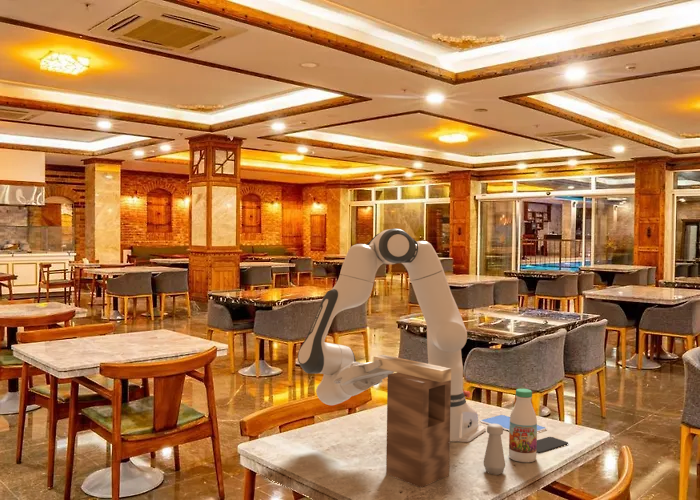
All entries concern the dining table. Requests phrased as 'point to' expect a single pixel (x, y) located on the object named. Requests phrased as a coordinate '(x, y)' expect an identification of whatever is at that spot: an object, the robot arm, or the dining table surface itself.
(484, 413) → the dining table surface
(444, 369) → the pine bar
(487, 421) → the tablet computer
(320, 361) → the robot arm
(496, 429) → the salt shaker
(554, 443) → the phone
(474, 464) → the dining table surface
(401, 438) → the walnut cabinet
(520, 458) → the milk bottle
